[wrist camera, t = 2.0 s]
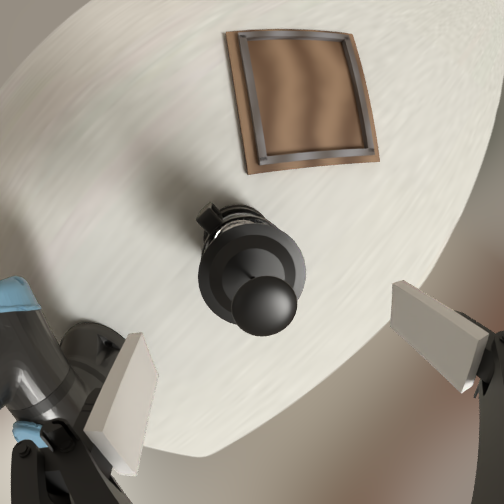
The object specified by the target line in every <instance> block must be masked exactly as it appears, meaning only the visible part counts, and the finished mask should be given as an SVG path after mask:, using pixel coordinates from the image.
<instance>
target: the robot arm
mask: <svg viewBox="0 0 504 504" xmlns="http://www.w3.org/2000/svg"><path fill="white" fill-rule="evenodd" d="M390 327H391V328H392V329H393V330H394V331H395V332H396V333H397V334H398V335H400V336H401V337H402V338H403V339H404V340H405V341H406V342H407V343H408V344H409V345H411V346H412V347H413V348H414V349H415V350H416V351H417V352H418V353H419V354H420V355H421V356H422V357H424V358H425V359H426V360H427V361H428V362H429V363H430V364H431V365H432V366H433V367H434V368H435V369H436V370H438V371H439V372H440V373H441V374H442V375H443V376H444V377H445V378H446V379H447V380H448V381H449V382H450V383H451V384H452V385H453V386H454V387H455V388H456V389H457V390H458V391H459V392H460V393H462V392H464V391H465V390H467V389H468V388H469V387H471V386H472V385H473V383H474V380H475V378H476V375H477V376H478V377H479V378H480V381H479V384H478V386H477V389H476V391H475V394H474V398H476V396H477V393H478V392H479V409H480V427H479V449H478V462H477V471H476V478H475V485H474V491H473V497H472V502H471V504H504V331H500V332H498V333H496V334H495V333H494V332H492V331H491V330H489V329H488V328H486V327H485V326H483V325H481V324H480V323H478V322H476V321H475V320H473V319H471V318H470V317H469V316H467V315H466V314H464V313H461V312H458V311H455V310H452V309H450V308H449V307H447V306H446V305H444V304H442V303H441V302H439V301H437V300H436V299H434V298H432V297H431V296H429V295H428V294H426V293H424V292H422V291H421V290H419V289H418V288H416V287H414V286H413V285H411V284H409V283H407V282H406V281H404V280H402V281H399V282H395V283H393V285H392V307H391V322H390ZM158 377H159V375H158V372H157V370H156V367H155V365H154V362H153V360H152V357H151V355H150V352H149V349H148V347H147V344H146V341H145V338H144V335H143V333H142V332H141V333H132V334H128V336H127V338H126V340H125V339H124V338H123V337H121V336H120V335H119V334H118V333H116V332H115V331H113V330H111V329H109V328H107V327H105V326H102V325H99V324H95V323H81V324H77V325H75V326H73V327H72V328H71V329H70V330H69V331H68V332H67V333H66V334H65V336H64V337H63V338H62V340H61V343H60V346H59V344H58V342H57V340H56V338H55V337H54V335H53V333H52V331H51V329H50V327H49V325H48V323H47V321H46V319H45V317H44V315H43V313H42V310H41V306H40V305H39V304H38V302H37V300H36V298H35V296H34V294H33V292H32V290H31V288H30V286H29V284H28V282H27V281H26V280H25V279H24V278H22V277H20V276H12V277H9V278H6V279H3V280H0V409H1V408H3V407H4V406H6V407H7V408H8V410H9V411H10V412H11V413H12V415H13V416H14V417H15V419H16V422H15V423H14V424H13V431H12V432H13V435H14V437H15V439H16V441H17V442H18V443H17V444H16V445H15V447H14V448H13V451H12V461H11V504H132V502H131V501H130V500H129V498H128V497H127V496H126V494H125V493H124V492H123V490H122V489H121V487H120V486H119V485H118V483H117V482H116V480H115V479H114V478H113V477H112V476H111V471H112V467H113V468H114V469H115V470H116V471H117V472H118V474H120V475H130V476H137V473H138V468H139V462H140V458H141V452H142V447H143V442H144V438H145V433H146V428H147V424H148V419H149V415H150V410H151V406H152V401H153V397H154V393H155V389H156V385H157V381H158Z"/></svg>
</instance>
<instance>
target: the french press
mask: <svg viewBox="0 0 504 504" xmlns="http://www.w3.org/2000/svg"><path fill="white" fill-rule="evenodd" d="M196 221H197V222H198V223H199V224H200V226H201V227H202V228H203V229H204V230H205V231H204V246H203V249H202V256H201V262H200V265H199V272H198V282H199V288H200V291H201V295H202V297H203V299H204V301H205V302H206V304H207V306H208V307H209V308H210V309H211V310H212V311H213V312H214V313H215V314H216V315H217V316H219V317H220V318H221V319H224V320H226V321H228V322H230V323H233V324H236V325H238V326H239V327H240V328H241V329H242V330H243V331H245V332H247V333H249V334H251V335H255V336H270V335H273V334H276V333H278V332H280V331H282V330H283V329H285V328H286V327H287V326H288V325H289V324H290V323H291V321H292V320H293V318H294V316H295V314H296V310H297V300H298V299H299V297H300V295H301V293H302V291H303V288H304V284H305V279H306V267H305V261H304V258H303V255H302V253H301V250H300V249H299V247H298V246H297V244H296V243H295V241H294V240H293V239H292V238H291V237H289V236H288V235H287V234H286V233H284V232H283V231H281V230H280V229H278V228H277V227H276V226H275V225H274V224H272V223H271V222H270V221H268V220H267V219H265V217H264V216H263V215H262V214H261V213H260V212H259V211H257V210H255V209H254V208H251V207H249V206H245V205H231V206H227V207H225V208H222V209H220V210H218V209H217V207H216V206H215V205H214V204H213V203H212V202H210V203H209V204H208V205H206V206H205V207H204V208H203V209H202V210H201V211H200V213H199V215H198V217H197V219H196ZM204 250H205V252H204Z"/></svg>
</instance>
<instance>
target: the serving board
mask: <svg viewBox="0 0 504 504" xmlns="http://www.w3.org/2000/svg"><path fill="white" fill-rule="evenodd" d="M226 40H227V46H228V52H229V58H230V64H231V71H232V77H233V83H234V89H235V95H236V102H237V108H238V114H239V121H240V127H241V133H242V140H243V146H244V153H245V159H246V166H247V172H248V175H251V174H258V173H265V172H272V171H280V170H288V169H297V168H306V167H316V166H327V165H338V164H351V163H366V162H380V158H379V151H378V144H377V137H376V131H375V125H374V120H373V114H372V109H371V104H370V99H369V95H368V90H367V86H366V81H365V77H364V73H363V69H362V65H361V62H360V58H359V54H358V51H357V47H356V44H355V41H354V37H353V34H348V33H340V32H330V31H317V30H295V29H268V30H246V31H233V32H226Z"/></svg>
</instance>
